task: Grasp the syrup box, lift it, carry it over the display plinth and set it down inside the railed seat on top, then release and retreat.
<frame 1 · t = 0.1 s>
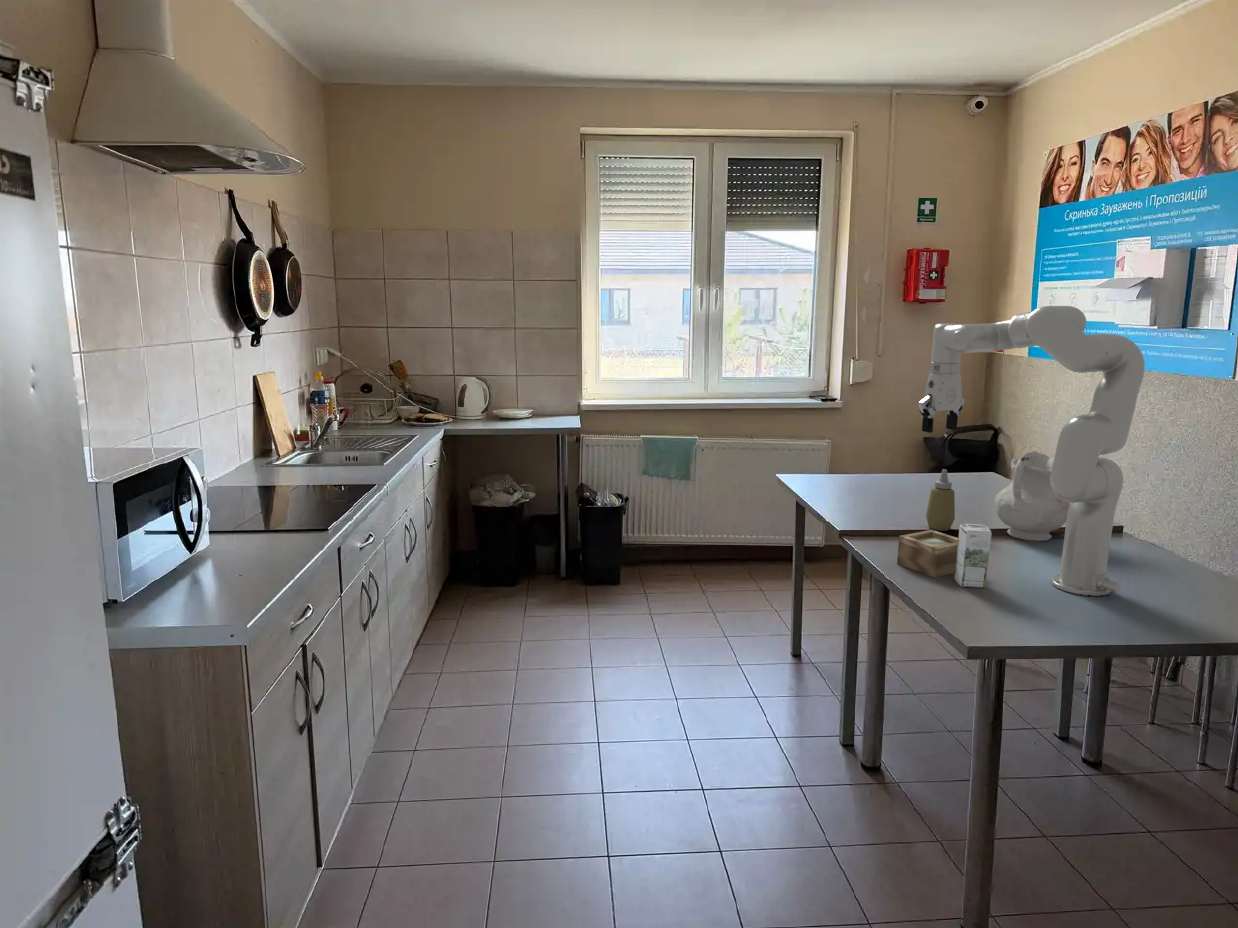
hand: (939, 430, 229), 31 cm above the table, fingers open, 9 cm apart
ceramic pitcher: (1027, 536, 238), on the table
syrup box: (969, 584, 198), on the table
display stand: (931, 566, 210), on the table
squeeze bottle: (939, 529, 244), on the table
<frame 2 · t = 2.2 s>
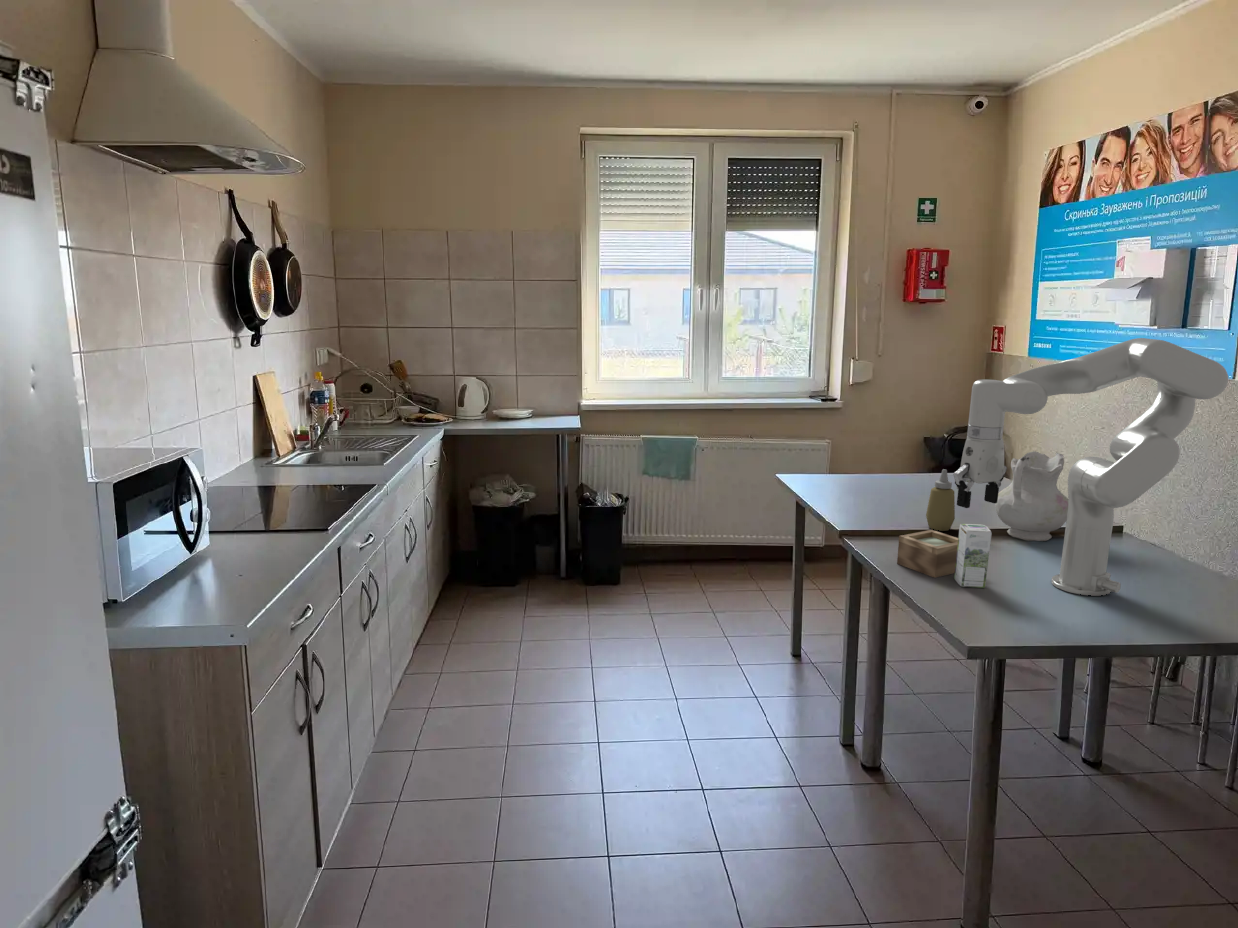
hand: (977, 504, 194), 20 cm above the table, fingers open, 9 cm apart
nothing on the table moved.
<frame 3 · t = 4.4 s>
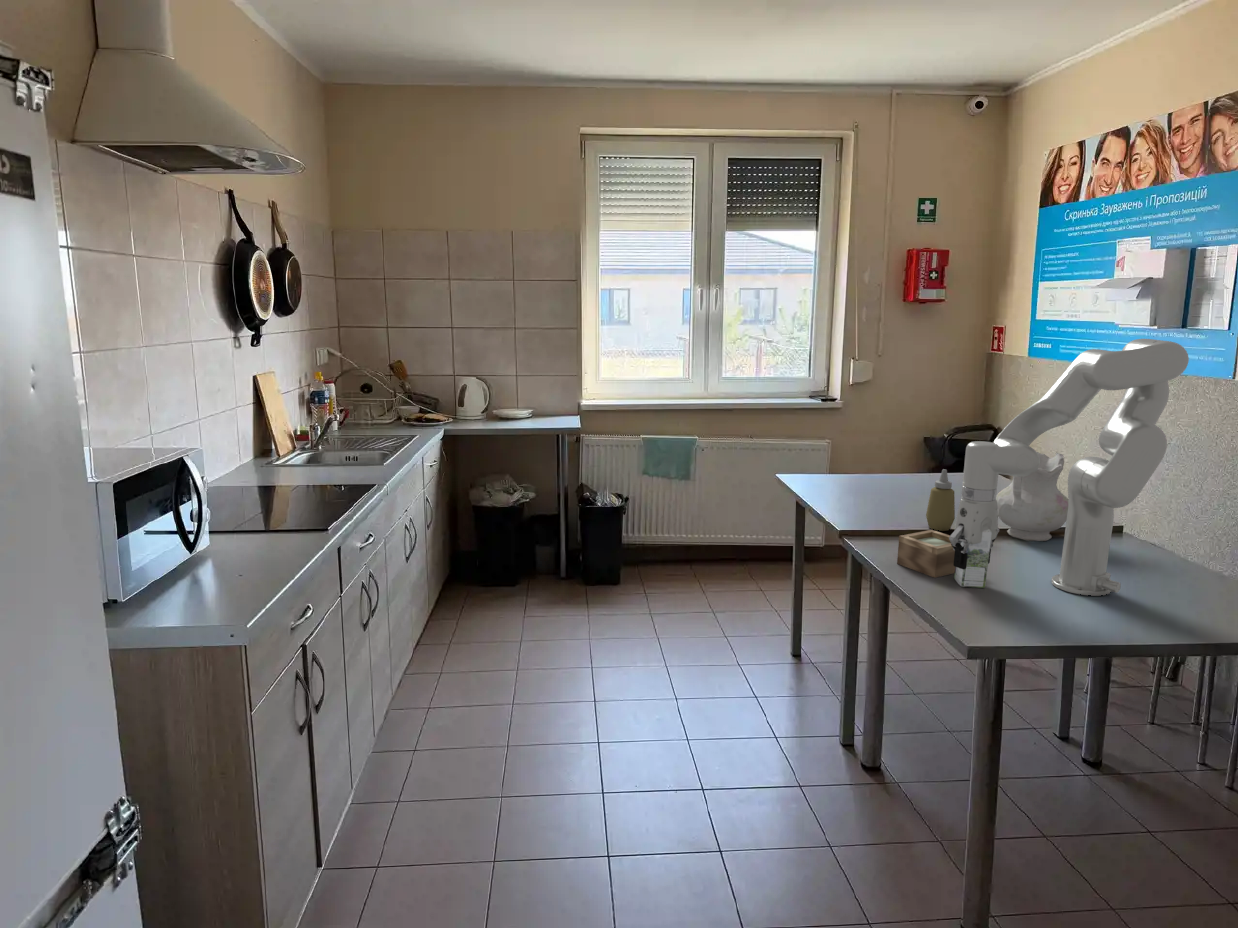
hand: (971, 564, 197), 5 cm above the table, fingers closed on syrup box, 7 cm apart
syrup box: (969, 584, 198), on the table, touching gripper
everything else where it was.
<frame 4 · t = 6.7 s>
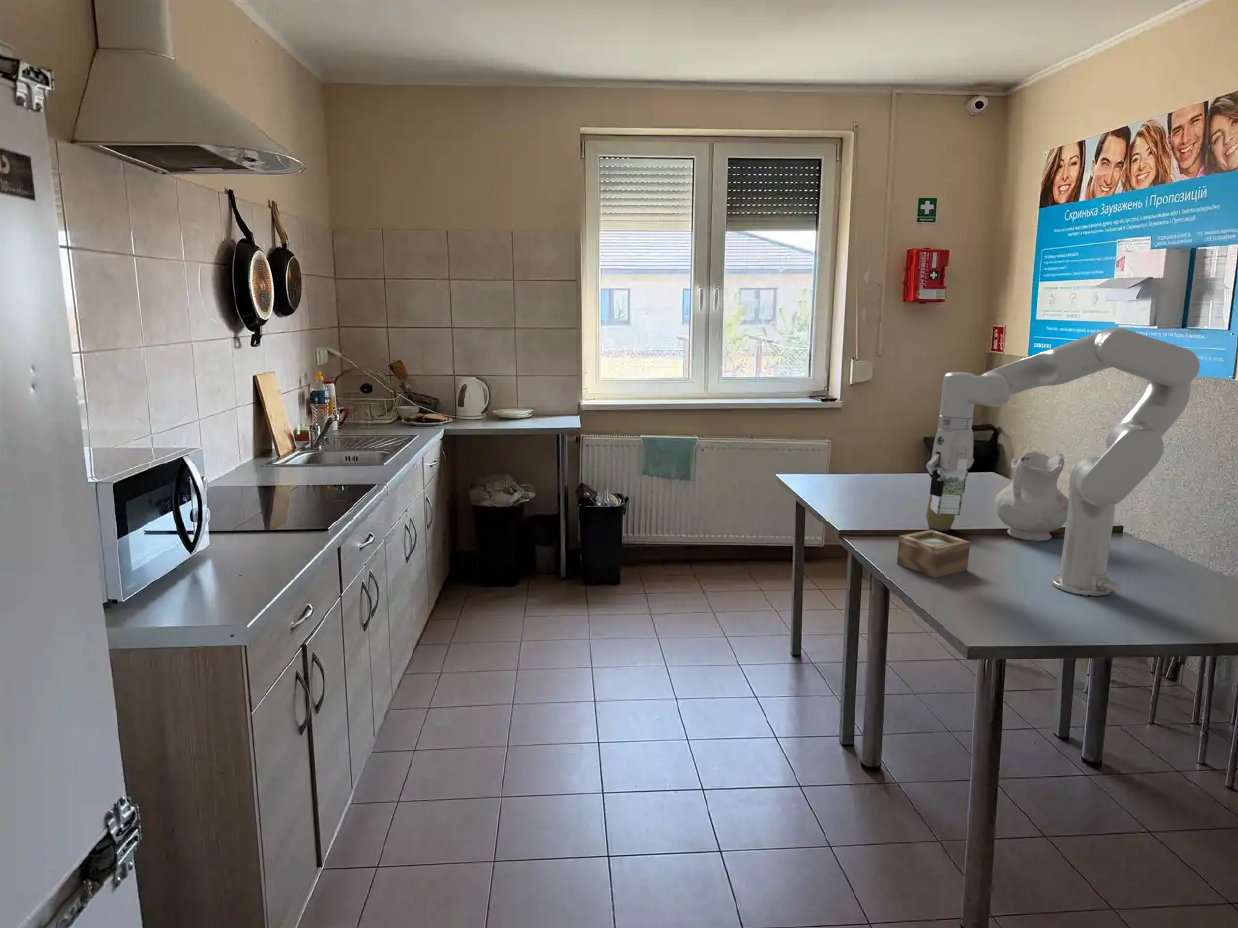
hand: (947, 493, 203), 20 cm above the table, fingers closed on syrup box, 7 cm apart
syrup box: (944, 513, 204), point 15 cm above the table, touching gripper
everything else where it was.
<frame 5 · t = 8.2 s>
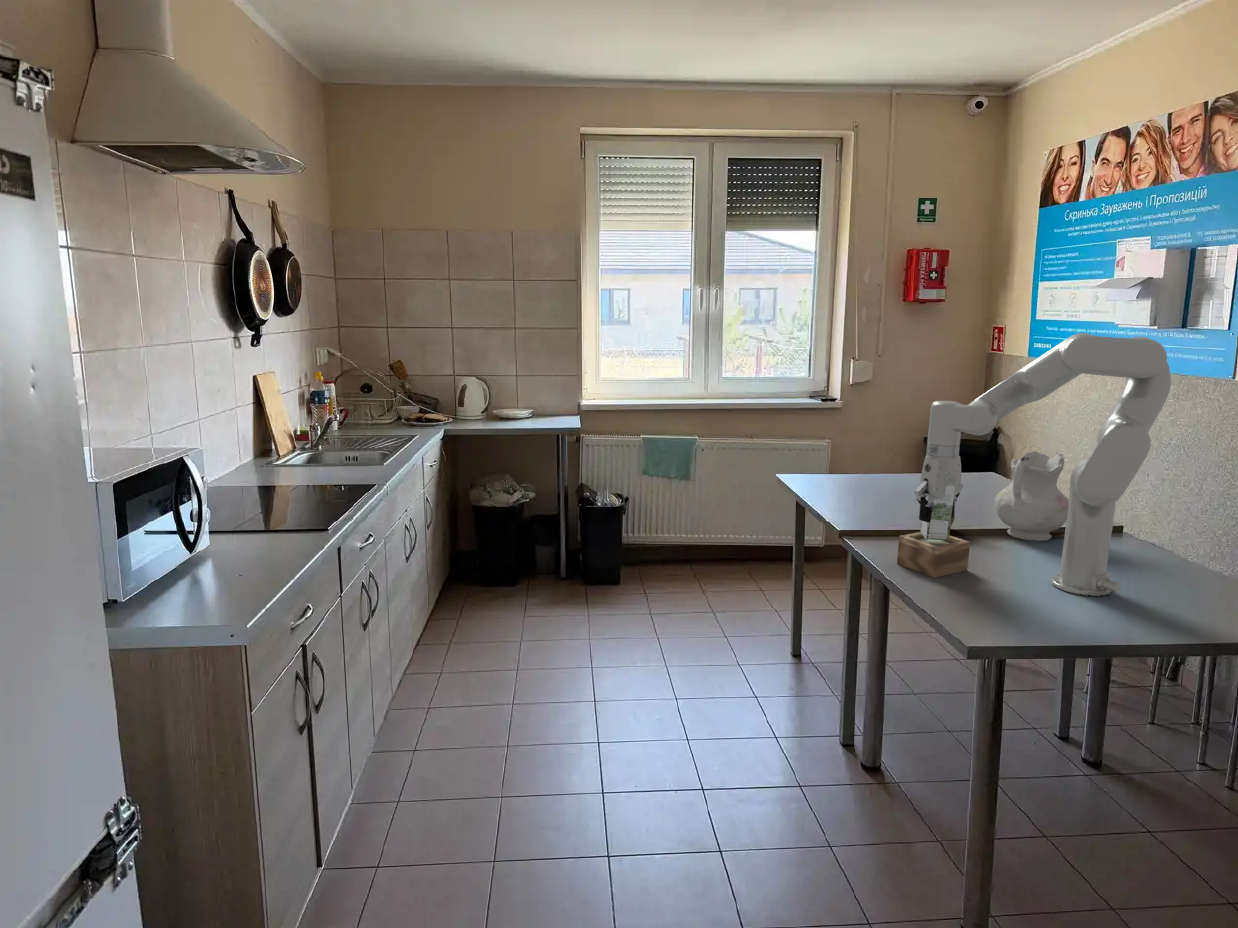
hand: (936, 518, 208), 13 cm above the table, fingers closed on syrup box, 7 cm apart
syrup box: (934, 537, 209), point 8 cm above the table, touching gripper
everything else where it was.
when the fingers open (12 cm above the table, at t = 9.3 s): syrup box drops 1 cm, resting on display stand.
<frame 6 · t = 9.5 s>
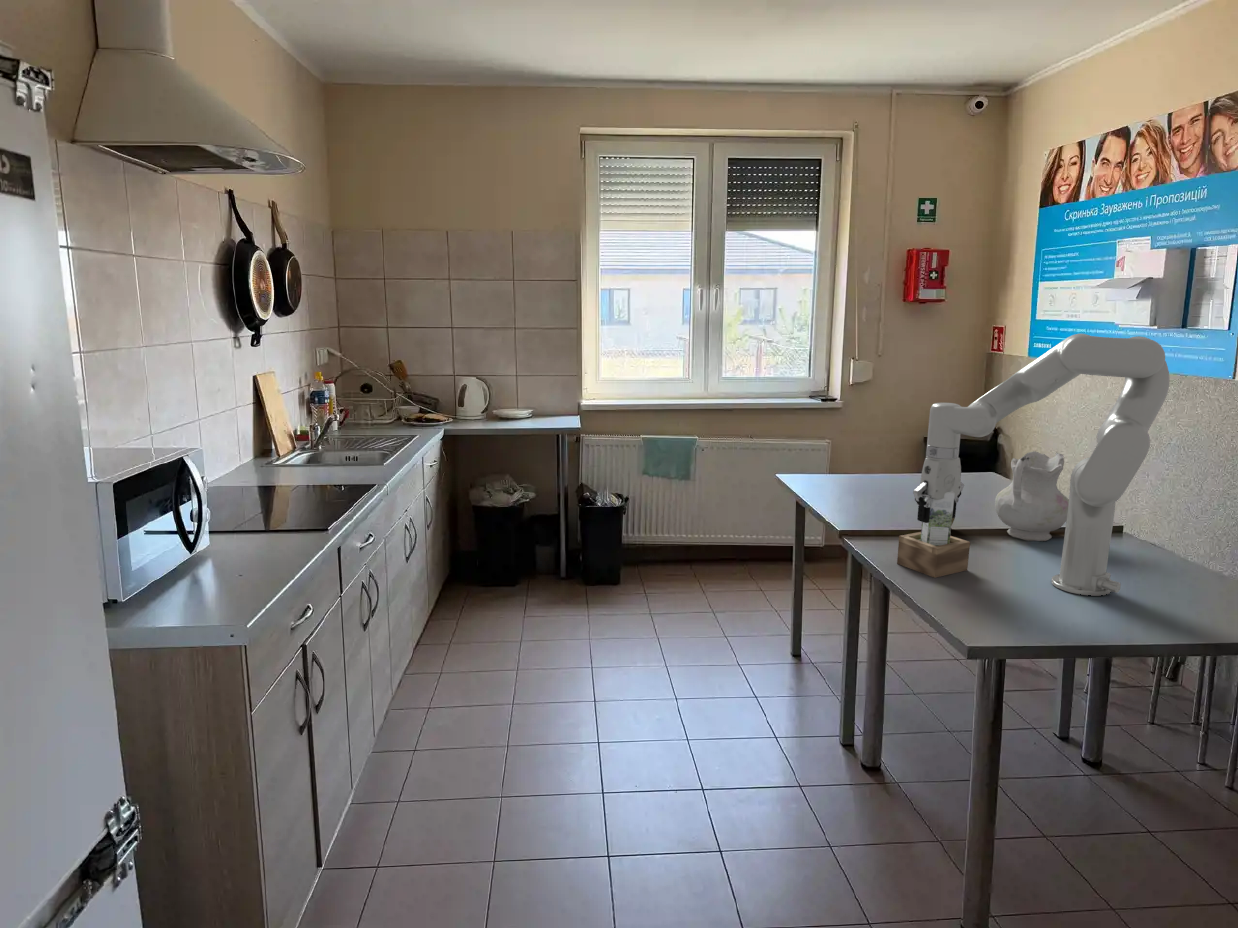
hand: (936, 519, 208), 13 cm above the table, fingers open, 9 cm apart
syrup box: (934, 544, 209), point 6 cm above the table, touching display stand
everything else where it was.
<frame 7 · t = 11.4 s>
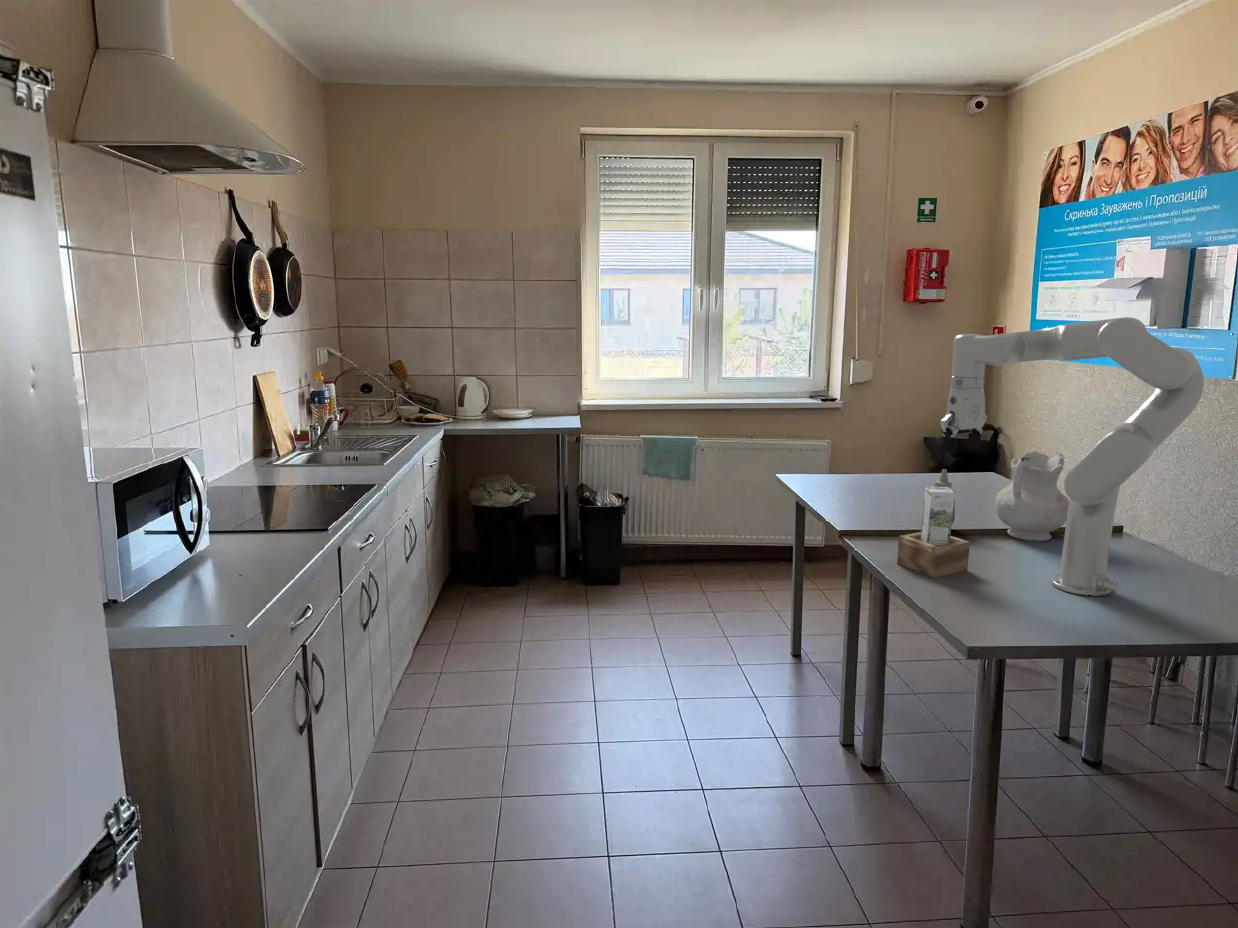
hand: (961, 450, 210), 29 cm above the table, fingers open, 9 cm apart
nothing on the table moved.
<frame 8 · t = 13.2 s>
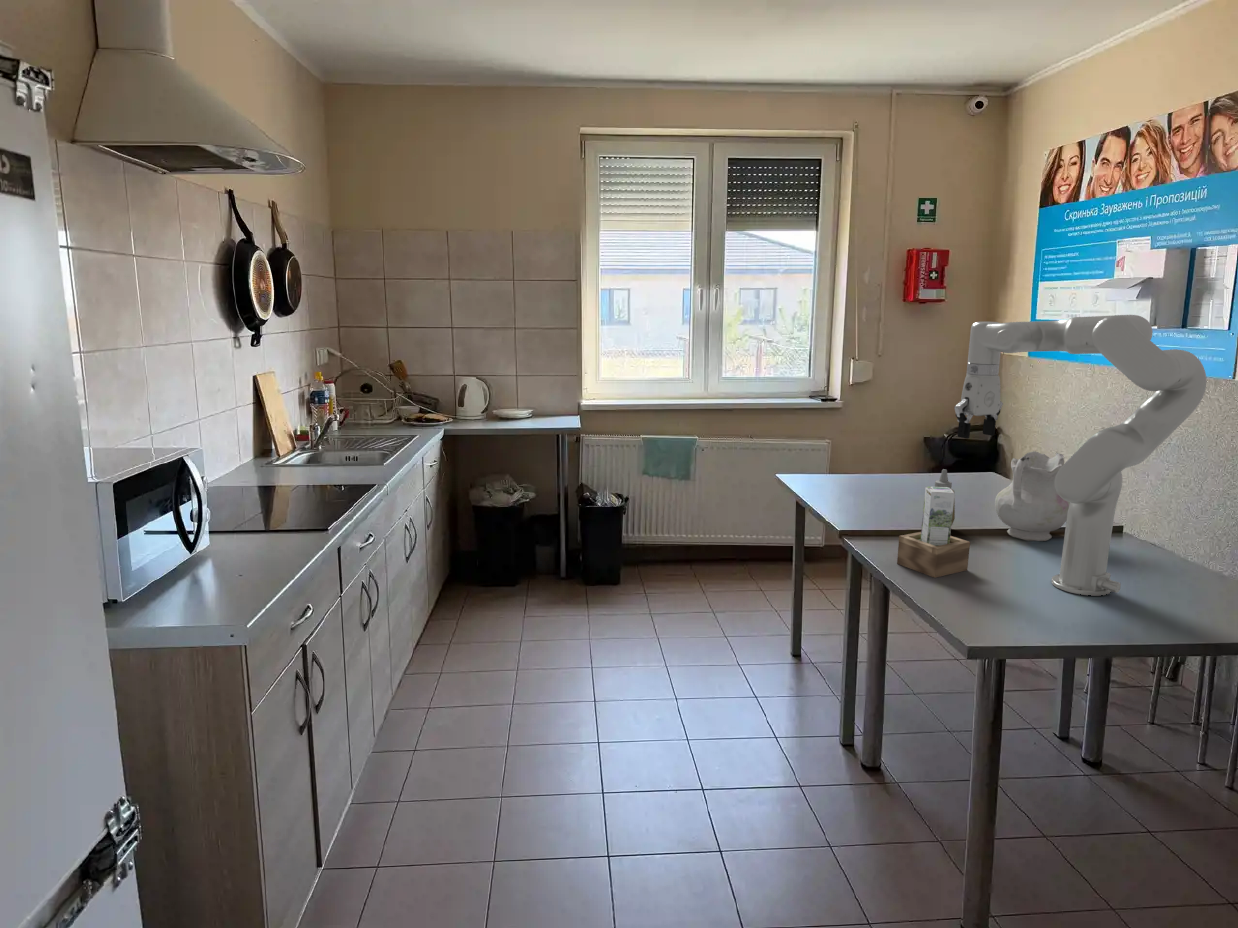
hand: (975, 436, 214), 32 cm above the table, fingers open, 9 cm apart
nothing on the table moved.
at the end: syrup box 0.2 cm off-centre on the display stand, point 6.0 cm above the display stand's base; syrup box tilted 0°; the gripper is holding nothing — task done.
